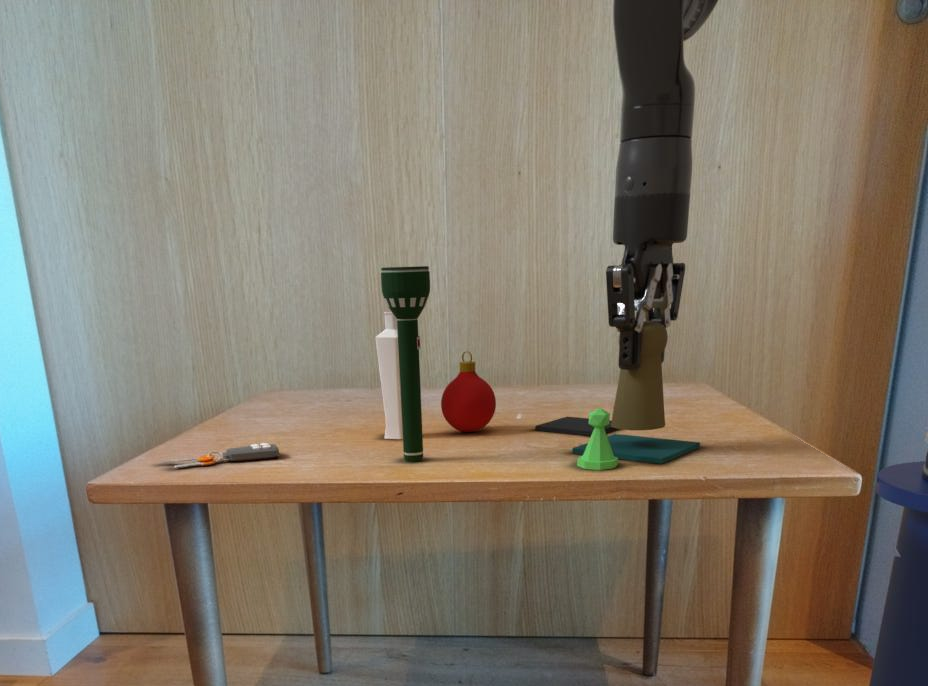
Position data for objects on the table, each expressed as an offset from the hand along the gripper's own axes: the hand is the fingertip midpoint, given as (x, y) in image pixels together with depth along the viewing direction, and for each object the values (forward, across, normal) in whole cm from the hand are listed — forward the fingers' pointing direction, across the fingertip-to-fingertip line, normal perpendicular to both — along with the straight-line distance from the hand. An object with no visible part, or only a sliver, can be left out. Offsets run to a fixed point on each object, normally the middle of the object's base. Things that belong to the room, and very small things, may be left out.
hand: (641, 365), depth 93 cm
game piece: (+9, -9, 0) cm, 13 cm away
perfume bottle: (+10, -7, +30) cm, 32 cm away
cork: (+7, 0, 0) cm, 7 cm away
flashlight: (+10, -17, +19) cm, 27 cm away
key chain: (+10, -29, +38) cm, 49 cm away
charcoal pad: (+9, +9, +12) cm, 18 cm away
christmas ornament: (+10, 0, +24) cm, 26 cm away
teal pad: (+9, 0, 0) cm, 9 cm away
